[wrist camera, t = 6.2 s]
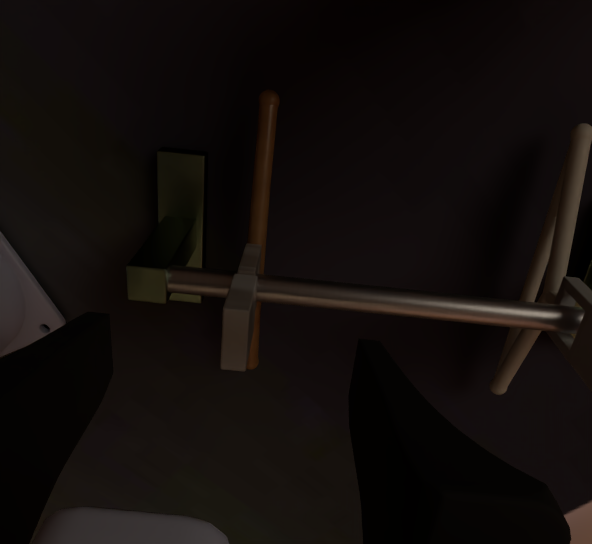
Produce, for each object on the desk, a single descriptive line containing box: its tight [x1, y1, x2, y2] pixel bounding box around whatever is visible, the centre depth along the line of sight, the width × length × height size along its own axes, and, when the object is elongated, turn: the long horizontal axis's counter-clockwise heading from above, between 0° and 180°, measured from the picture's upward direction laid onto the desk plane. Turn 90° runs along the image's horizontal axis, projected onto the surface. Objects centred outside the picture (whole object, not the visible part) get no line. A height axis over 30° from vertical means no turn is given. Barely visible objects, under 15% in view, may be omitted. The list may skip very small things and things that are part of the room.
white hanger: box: [489, 123, 592, 395], centre depth 19 cm, size 13×1×8 cm, turn 174°
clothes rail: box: [126, 147, 592, 338], centre depth 21 cm, size 7×21×6 cm, turn 84°
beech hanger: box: [220, 90, 280, 371], centre depth 19 cm, size 13×1×8 cm, turn 174°
